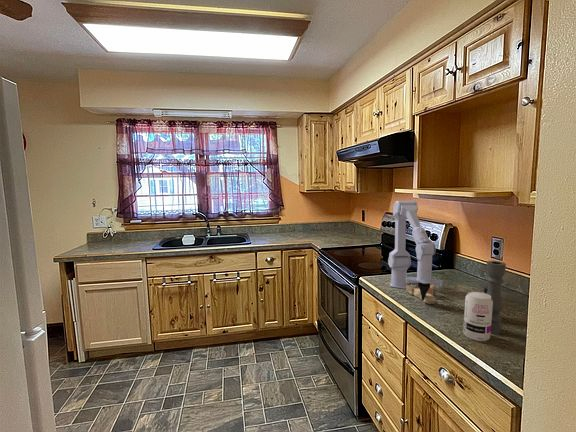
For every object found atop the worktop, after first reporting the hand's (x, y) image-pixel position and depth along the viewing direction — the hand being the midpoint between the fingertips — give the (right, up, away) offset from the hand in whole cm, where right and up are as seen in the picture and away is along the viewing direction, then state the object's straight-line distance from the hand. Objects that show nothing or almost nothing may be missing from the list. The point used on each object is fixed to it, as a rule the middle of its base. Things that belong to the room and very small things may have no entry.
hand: (422, 299), depth 142 cm
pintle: (0, 0, +12) cm, 12 cm away
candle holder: (+15, -5, -25) cm, 29 cm away
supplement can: (+6, -6, -29) cm, 30 cm away
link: (+2, -1, +6) cm, 7 cm away
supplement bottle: (+20, -4, -14) cm, 25 cm away
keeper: (+6, -1, +9) cm, 11 cm away
